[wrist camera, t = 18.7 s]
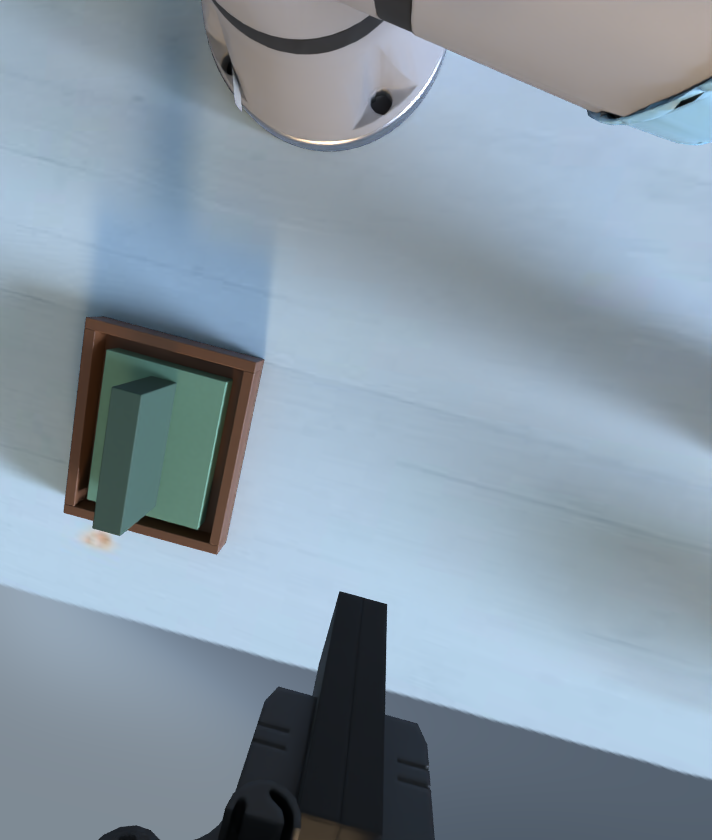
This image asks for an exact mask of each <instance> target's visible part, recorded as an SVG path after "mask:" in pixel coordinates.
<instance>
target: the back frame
mask: <svg viewBox="0 0 712 840" xmlns="http://www.w3.org/2000/svg"><path fill="white" fill-rule="evenodd" d="M114 348H120V349H124V350H128V351H131V352H135V353H139V354H142V355H146V356H150V357H153V358H157V359H161V360H164V361H168V362H172V363H175V364H179V365H183V366H186V367H190V368H194V369H197V370H201V371H205V372H208V373H212V374H216V375H219V376H223V377H227V378H230V379H233V382H232V387H231V392H230V397H229V402H228V407H227V412H226V417H225V422H224V427H223V432H222V437H221V442H220V447H219V452H218V457H217V462H216V467H215V472H214V477H213V482H212V487H211V492H210V497H209V502H208V507H207V512H206V517H205V522H204V523H203V524H202V525H201V526H200V527H199V528H198V529H193V528H190V527H186V526H182V525H179V524H175V523H172V522H168V521H164V520H161V519H157V518H154V517H150V516H146V515H145V516H144V517H142V518H141V519H140V520H139V521H138V522H136V523H135V524H134V525H133V526H132V527H130V528H129V529H128V530H129V531H132V532H136V533H140V534H143V535H147V536H150V537H154V538H158V539H161V540H165V541H169V542H172V543H176V544H180V545H183V546H187V547H191V548H194V549H198V550H202V551H205V552H209V553H212V554H216V555H217V554H218V552H219V551H220V550H221V548H222V547H223V545H224V544H225V543H226V540H227V535H228V530H229V525H230V520H231V516H232V511H233V506H234V501H235V497H236V492H237V487H238V482H239V478H240V473H241V468H242V463H243V458H244V454H245V449H246V444H247V439H248V435H249V430H250V425H251V420H252V416H253V411H254V406H255V401H256V396H257V392H258V387H259V382H260V377H261V373H262V368H263V363H264V359H260V358H257V357H253V356H249V355H245V354H242V353H238V352H234V351H230V350H227V349H223V348H219V347H216V346H212V345H208V344H204V343H201V342H197V341H193V340H189V339H186V338H182V337H178V336H174V335H171V334H167V333H163V332H160V331H156V330H152V329H148V328H145V327H141V326H137V325H133V324H130V323H126V322H122V321H118V320H115V319H111V318H107V317H104V316H102V317H86V321H85V330H84V339H83V347H82V356H81V365H80V373H79V382H78V391H77V399H76V408H75V417H74V426H73V434H72V443H71V452H70V460H69V469H68V478H67V486H66V495H65V504H64V513H67V514H70V515H74V516H77V517H81V518H85V519H88V520H92V521H93V520H94V513H95V505H96V501H92V500H89V499H87V494H88V487H89V479H90V472H91V464H92V456H93V449H94V441H95V434H96V426H97V418H98V411H99V403H100V396H101V388H102V381H103V373H104V365H105V358H106V350H107V349H114Z"/></svg>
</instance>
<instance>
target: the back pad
mask: <svg viewBox="0 0 712 840" xmlns="http://www.w3.org/2000/svg"><path fill="white" fill-rule="evenodd" d="M232 382H233V379H230V378H227V377H223V376H219V375H216V374H212V373H208V372H205V371H201V370H197V369H194V368H190V367H186V366H183V365H179V364H175V363H172V362H168V361H164V360H161V359H157V358H153V357H150V356H146V355H142V354H139V353H135V352H131V351H128V350H124V349H120V348H114V349H107V350H106V358H105V365H104V373H103V381H102V388H101V396H100V403H99V411H98V418H97V426H96V434H95V441H94V449H93V456H92V464H91V472H90V479H89V487H88V494H87V499H89V500H92V501H96V505H95V513H94V520H93V527H92V528H93V529H97V530H100V531H104V532H108V533H111V534H115V535H118V536H121V535H122V534H123V533H124V532H126V531H127V530H128V529H129V528H130V527H132V526H133V525H134V524H135V523H136V522H138V521H139V520H140V519H141V518H142V517H144V516H145V515H146V516H150V517H154V518H157V519H161V520H164V521H168V522H172V523H175V524H179V525H182V526H186V527H190V528H193V529H198V528H199V527H200V526H201V525H202V524H203V523H204V522H205V517H206V512H207V507H208V502H209V497H210V492H211V487H212V482H213V477H214V472H215V467H216V462H217V457H218V452H219V447H220V442H221V437H222V432H223V427H224V422H225V417H226V412H227V407H228V402H229V397H230V392H231V387H232Z"/></svg>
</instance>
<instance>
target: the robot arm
mask: <svg viewBox="0 0 712 840" xmlns="http://www.w3.org/2000/svg"><path fill="white" fill-rule="evenodd" d="M201 3H202V11H203V19H204V24H205V30H206V34H207V38H208V42H209V45H210V49H211V52H212V55H213V58H214V60H215V62H216V65H217V67H218V69H219V71H220V73H221V75H222V77H223V79H224V81H225V82H226V84H227V86H228V87H229V89H230V90H231V92H232V93H233V94H234V97H235V104H236V105H237V106H238V108H239V109H240V110H241V112H242V106H243V108H244V109H245V110H246V112H247V113H248V114H249V115H250V116H251V117H252V118H253V119H254V120H255V121H256V122H257V123H258V124H260V125H261V126H262V127H263V128H264V129H266V130H267V131H268V132H270V133H271V134H273V135H274V136H276V137H278V138H280V139H281V140H283V141H286V142H288V143H290V144H292V145H295V146H298V147H302V148H306V149H310V150H317V151H341V150H348V149H353V148H357V147H360V146H363V145H366V144H369V143H371V142H373V141H375V140H377V139H379V138H381V137H383V136H384V135H386V134H388V133H389V132H391V131H392V130H393V129H395V128H396V127H397V126H399V125H400V124H401V123H402V122H403V121H404V120H406V119H407V118H408V117H409V116H410V115H411V113H412V112H413V111H414V110H415V109H416V108H417V107H418V105H419V104H420V103H421V101H422V100H423V99H424V98H425V96H426V94H427V93H428V91H429V90H430V88H431V86H432V84H433V83H434V81H435V79H436V77H437V75H438V72H439V70H440V67H441V65H442V62H443V59H444V56H445V53H446V50H450V51H452V52H454V53H457V54H459V55H461V56H464V57H466V58H468V59H471V60H473V61H475V62H478V63H480V64H482V65H485V66H487V67H489V68H492V69H494V70H496V71H499V72H501V73H503V74H506V75H508V76H510V77H513V78H515V79H517V80H519V81H522V82H524V83H526V84H529V85H531V86H533V87H536V88H538V89H540V90H543V91H545V92H547V93H550V94H552V95H554V96H557V97H559V98H561V99H564V100H566V101H568V102H571V103H573V104H575V105H578V106H580V107H582V108H585V109H587V112H588V115H589V116H590V117H591V118H593V119H595V120H597V121H599V122H601V123H605V124H609V125H628V126H631V127H634V128H637V129H639V130H642V131H645V132H648V133H650V134H653V135H656V136H658V137H661V138H664V139H667V140H669V141H672V142H676V143H680V144H688V145H702V144H706V143H710V142H712V0H201ZM241 105H242V106H241ZM386 631H387V604H384V603H381V602H377V601H373V600H370V599H366V598H362V597H359V596H355V595H352V594H348V593H344V592H341V591H340V592H339V595H338V599H337V602H336V606H335V609H334V613H333V616H332V620H331V624H330V627H329V631H328V634H327V638H326V641H325V645H324V648H323V652H322V655H321V659H320V662H319V667H318V671H317V676H316V681H315V686H314V691H313V696H310V695H307V694H303V693H299V692H296V691H293V690H288V689H285V688H282V687H278V688H277V689H276V690H275V691H274V692H273V693H272V694H271V695H270V696H269V697H268V698H267V699H266V701H265V702H264V705H263V708H262V712H261V715H260V718H259V721H258V724H257V727H256V730H255V733H254V736H253V739H252V742H251V745H250V748H249V751H248V755H247V758H246V761H245V764H244V767H243V770H242V773H241V776H240V779H239V782H238V785H237V788H236V791H235V793H233V795H232V797H231V799H230V800H229V802H228V804H227V806H226V808H225V812H224V816H223V820H222V821H221V823H220V824H219V825H218V826H217V827H216V828H215V829H213V830H212V831H211V832H210V833H208V834H206V835H205V836H203V837H201V838H199V839H195V840H435V838H434V825H433V813H432V801H431V790H430V774H429V771H428V768H429V762H428V749H427V743H426V741H425V739H424V737H423V735H422V732H421V730H420V728H419V726H418V724H417V723H413V722H410V721H406V720H402V719H399V718H395V717H391V716H387V715H385V682H386ZM99 840H159V839H158V838H157V836H155V834H154V833H153V832H152V831H151V830H149V829H145V828H142V827H140V826H126V827H119V828H117V829H115V830H113V831H111V832H109V833H107V834H105V835H103V836H102V837H101V838H100V839H99Z"/></svg>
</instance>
